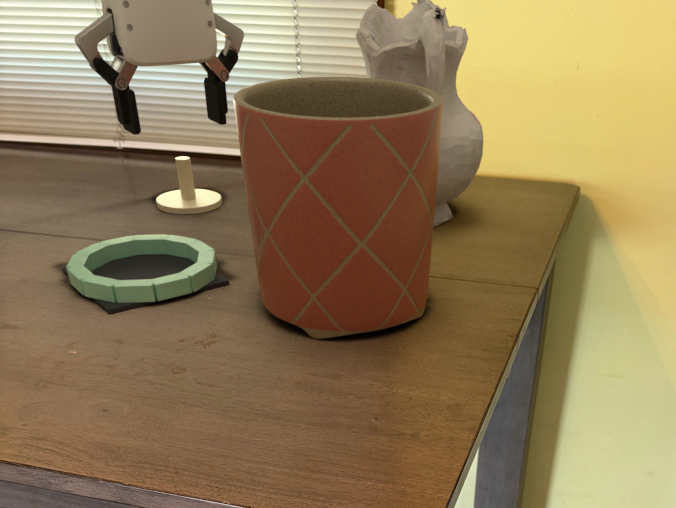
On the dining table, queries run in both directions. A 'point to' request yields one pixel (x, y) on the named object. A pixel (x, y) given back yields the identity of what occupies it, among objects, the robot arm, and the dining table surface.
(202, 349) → the dining table surface
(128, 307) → the mat
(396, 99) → the planter
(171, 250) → the ring
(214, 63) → the robot arm
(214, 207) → the ring holder
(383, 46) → the ceramic pitcher
